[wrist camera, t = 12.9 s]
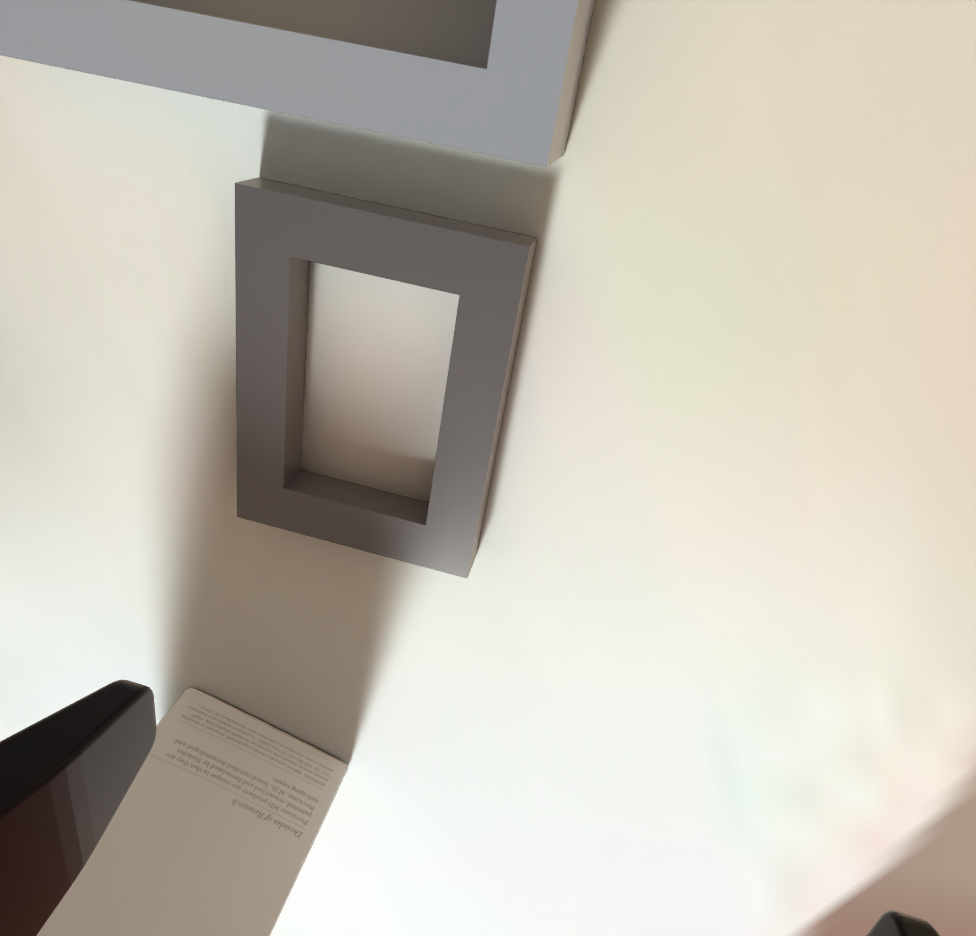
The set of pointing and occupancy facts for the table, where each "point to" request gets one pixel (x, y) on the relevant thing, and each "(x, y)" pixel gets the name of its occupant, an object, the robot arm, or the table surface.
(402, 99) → the tray
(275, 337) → the holder
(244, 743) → the supplement box
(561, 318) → the table surface
